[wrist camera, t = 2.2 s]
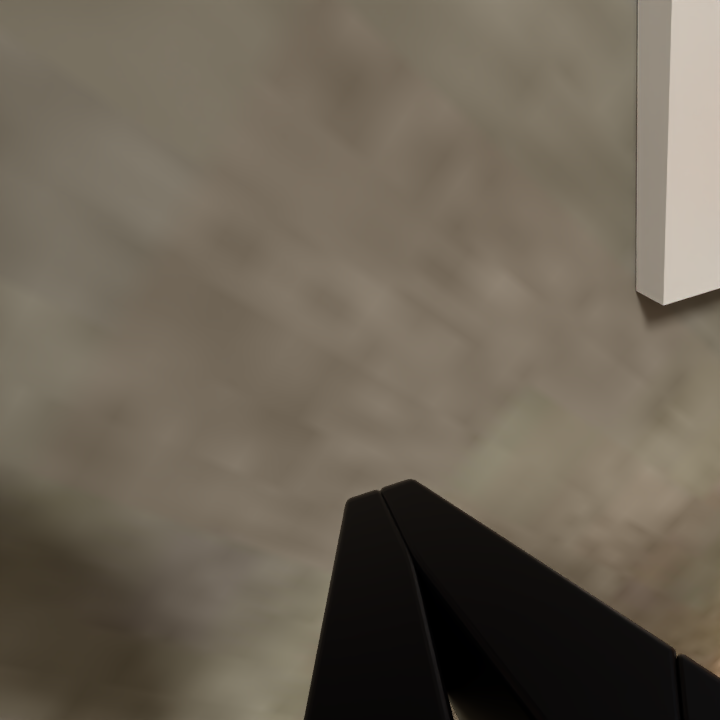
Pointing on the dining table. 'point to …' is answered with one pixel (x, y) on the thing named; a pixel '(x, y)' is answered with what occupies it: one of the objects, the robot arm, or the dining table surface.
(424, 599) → the robot arm
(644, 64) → the switch console
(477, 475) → the dining table surface
